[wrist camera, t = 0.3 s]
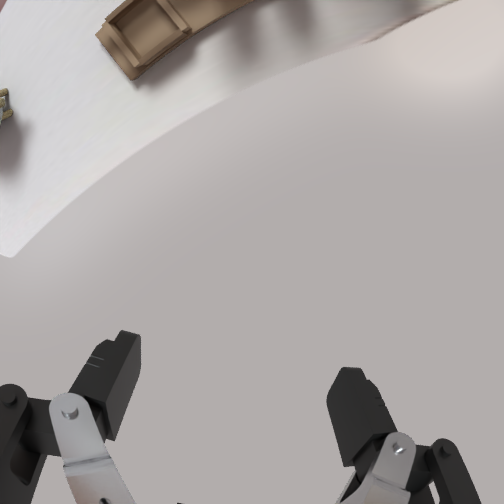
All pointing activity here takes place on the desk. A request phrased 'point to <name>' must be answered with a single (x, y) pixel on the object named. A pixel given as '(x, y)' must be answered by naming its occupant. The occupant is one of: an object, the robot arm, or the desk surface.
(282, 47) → the desk surface
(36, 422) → the robot arm
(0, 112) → the toy sheep
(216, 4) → the rail
